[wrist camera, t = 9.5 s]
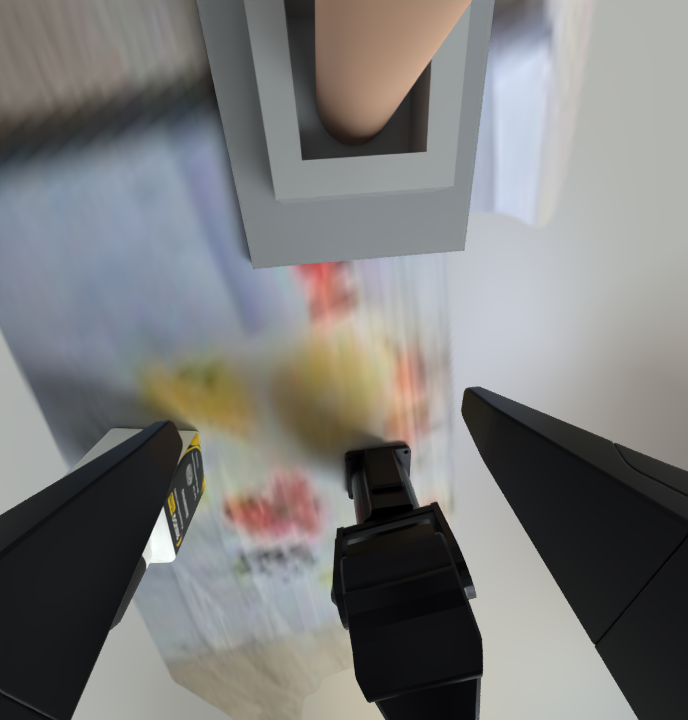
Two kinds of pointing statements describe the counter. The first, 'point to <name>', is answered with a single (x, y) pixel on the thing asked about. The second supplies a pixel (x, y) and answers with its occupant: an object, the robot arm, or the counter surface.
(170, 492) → the medicine bottle
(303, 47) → the socket
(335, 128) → the dowel
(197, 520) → the counter surface
